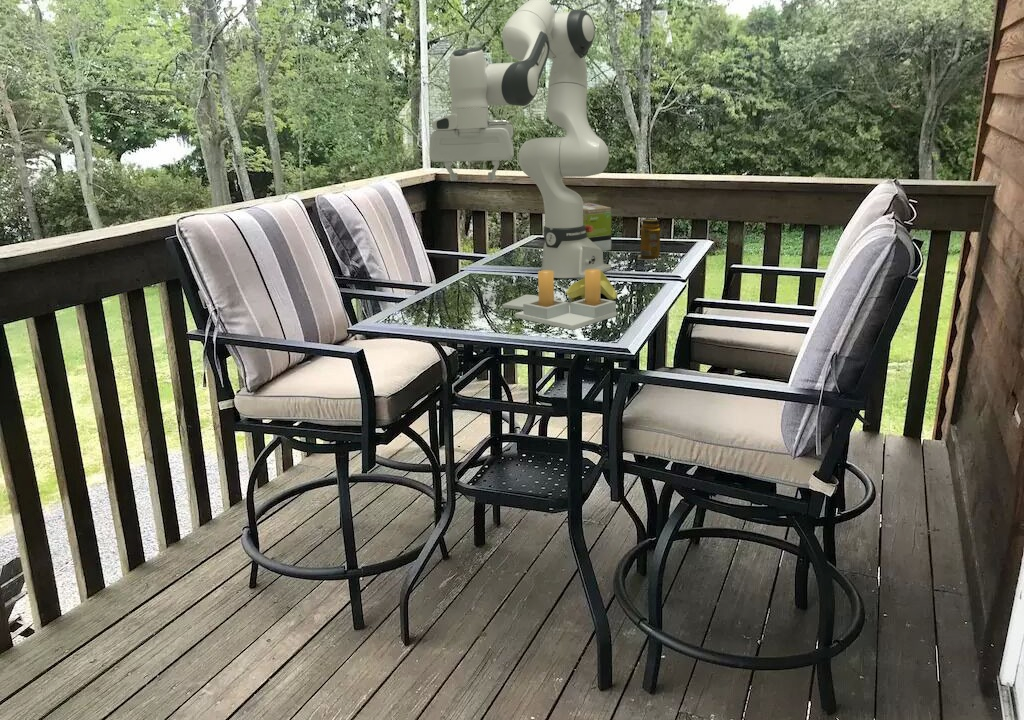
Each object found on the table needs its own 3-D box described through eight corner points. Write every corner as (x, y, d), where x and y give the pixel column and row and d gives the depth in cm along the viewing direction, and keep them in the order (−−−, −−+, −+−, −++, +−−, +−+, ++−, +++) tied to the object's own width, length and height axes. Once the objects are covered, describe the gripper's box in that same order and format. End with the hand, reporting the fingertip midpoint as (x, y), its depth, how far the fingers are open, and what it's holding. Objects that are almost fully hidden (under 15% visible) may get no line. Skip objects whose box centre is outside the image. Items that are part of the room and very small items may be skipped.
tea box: (564, 247, 285) (564, 204, 280) (589, 244, 288) (589, 202, 284) (586, 253, 271) (586, 208, 267) (612, 250, 275) (612, 206, 271)
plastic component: (571, 284, 217) (605, 267, 214) (583, 309, 218) (617, 292, 215) (563, 295, 198) (601, 277, 195) (577, 322, 199) (614, 305, 196)
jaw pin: (546, 310, 195) (545, 269, 192) (557, 313, 193) (556, 271, 190) (535, 313, 193) (534, 271, 190) (546, 315, 190) (546, 273, 187)
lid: (528, 296, 215) (528, 292, 214) (562, 299, 210) (562, 295, 209) (502, 307, 204) (502, 303, 203) (537, 311, 199) (537, 307, 198)
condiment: (661, 255, 264) (662, 218, 260) (660, 260, 256) (661, 222, 252) (638, 255, 265) (638, 218, 261) (637, 260, 257) (637, 222, 253)
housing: (559, 304, 205) (559, 261, 201) (616, 315, 192) (617, 269, 189) (515, 317, 194) (513, 271, 191) (572, 330, 182) (571, 281, 178)
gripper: (515, 119, 194) (517, 178, 199) (432, 121, 198) (436, 179, 202) (510, 119, 188) (512, 180, 193) (425, 122, 192) (429, 182, 196)
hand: (472, 180), depth 197 cm, fingers open, 8 cm apart
